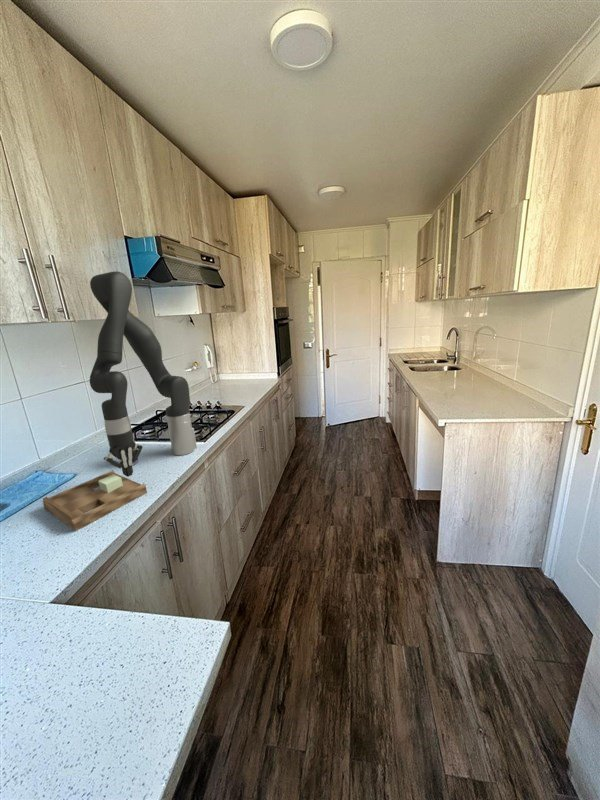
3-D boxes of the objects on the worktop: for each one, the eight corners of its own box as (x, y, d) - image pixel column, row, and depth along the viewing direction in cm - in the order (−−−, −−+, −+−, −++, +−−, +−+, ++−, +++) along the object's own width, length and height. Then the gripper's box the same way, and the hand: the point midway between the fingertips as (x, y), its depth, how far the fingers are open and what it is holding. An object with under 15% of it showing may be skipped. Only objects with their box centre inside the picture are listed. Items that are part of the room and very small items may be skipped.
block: (114, 481, 112) (113, 474, 111) (122, 485, 109) (121, 477, 108) (100, 488, 108) (98, 480, 107) (108, 492, 105) (106, 484, 104)
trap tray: (114, 477, 119) (111, 467, 118) (147, 492, 109) (144, 481, 108) (45, 509, 102) (41, 497, 101) (76, 531, 91) (72, 517, 90)
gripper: (131, 421, 116) (140, 465, 121) (92, 434, 105) (103, 481, 110) (143, 425, 112) (152, 469, 117) (104, 438, 101) (115, 487, 106)
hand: (128, 475), depth 113 cm, fingers closed
